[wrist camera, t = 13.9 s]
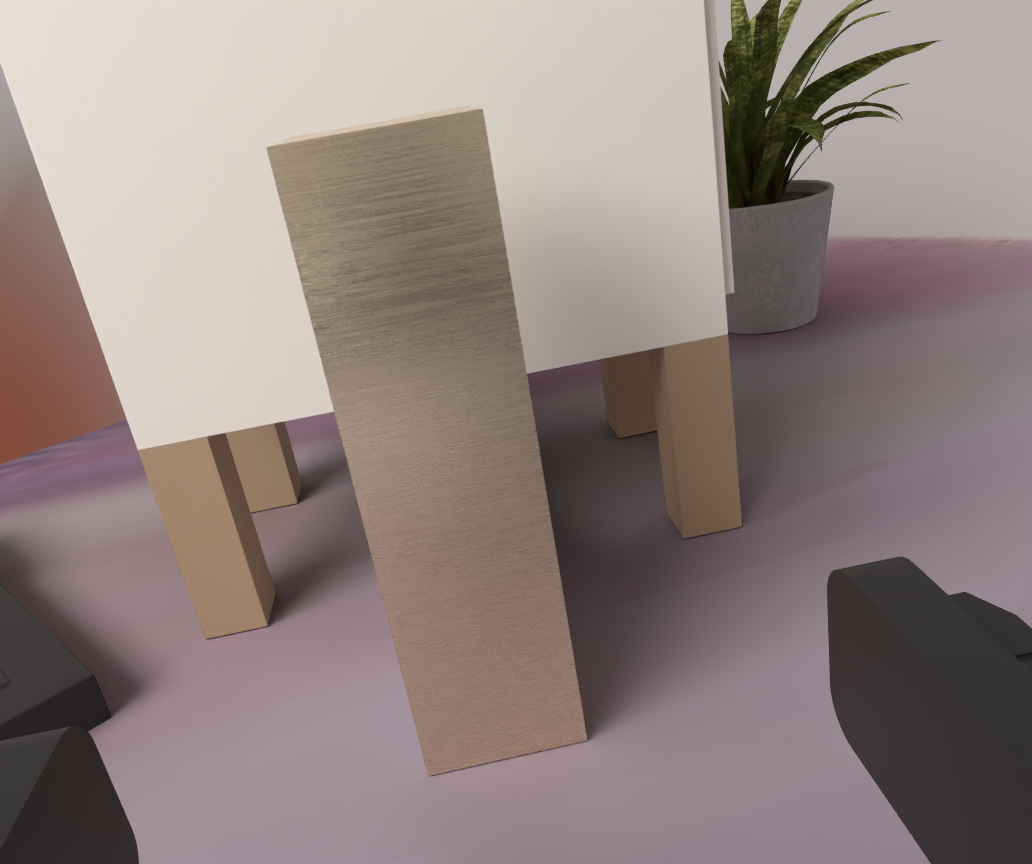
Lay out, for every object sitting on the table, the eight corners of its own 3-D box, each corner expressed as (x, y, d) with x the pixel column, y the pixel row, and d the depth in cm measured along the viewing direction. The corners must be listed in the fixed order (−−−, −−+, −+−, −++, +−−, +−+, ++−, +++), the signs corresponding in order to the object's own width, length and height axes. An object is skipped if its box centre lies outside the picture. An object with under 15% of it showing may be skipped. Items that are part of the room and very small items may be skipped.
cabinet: (675, 402, 36) (615, -204, 28) (788, 527, 26) (743, -377, 18) (243, 489, 35) (55, -115, 27) (179, 655, 25) (-156, -245, 17)
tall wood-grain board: (492, 423, 37) (432, 100, 32) (587, 740, 19) (483, 108, 14) (411, 439, 37) (338, 117, 32) (428, 776, 19) (265, 146, 14)
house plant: (754, 400, 35) (725, -61, 29) (559, 344, 46) (508, 4, 40) (973, 306, 41) (987, -90, 35) (754, 276, 52) (736, -26, 46)
